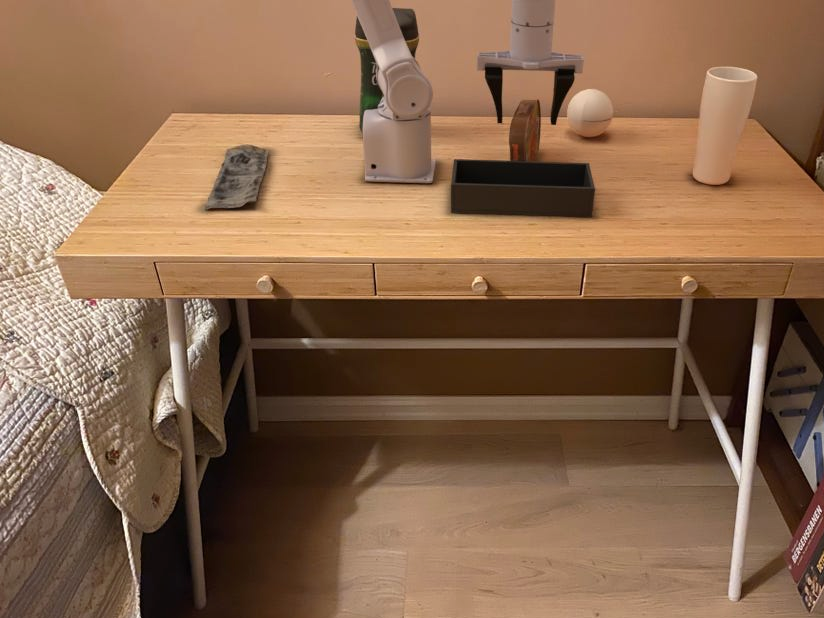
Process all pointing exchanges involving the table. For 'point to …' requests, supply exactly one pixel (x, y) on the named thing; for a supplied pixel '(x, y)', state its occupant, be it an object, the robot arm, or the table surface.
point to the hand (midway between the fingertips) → (526, 121)
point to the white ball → (590, 112)
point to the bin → (522, 188)
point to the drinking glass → (722, 122)
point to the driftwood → (238, 177)
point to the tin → (525, 131)
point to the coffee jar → (369, 84)
